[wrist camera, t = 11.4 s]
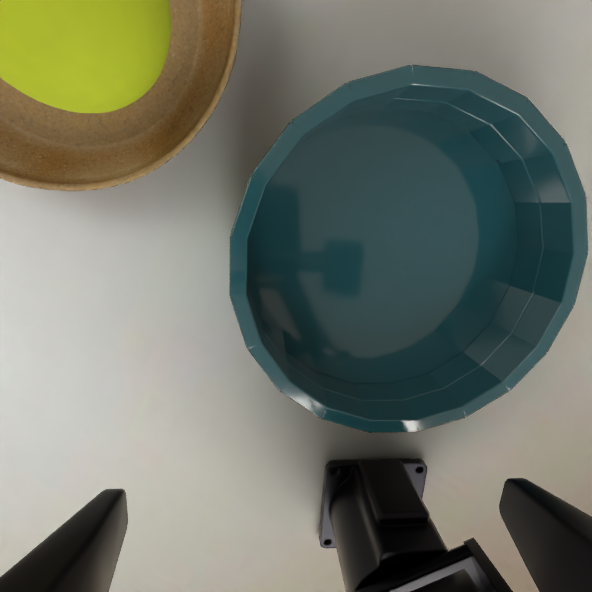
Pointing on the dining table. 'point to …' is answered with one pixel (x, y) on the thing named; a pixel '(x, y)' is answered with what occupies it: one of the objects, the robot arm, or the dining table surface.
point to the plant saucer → (125, 112)
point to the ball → (84, 50)
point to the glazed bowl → (408, 249)
